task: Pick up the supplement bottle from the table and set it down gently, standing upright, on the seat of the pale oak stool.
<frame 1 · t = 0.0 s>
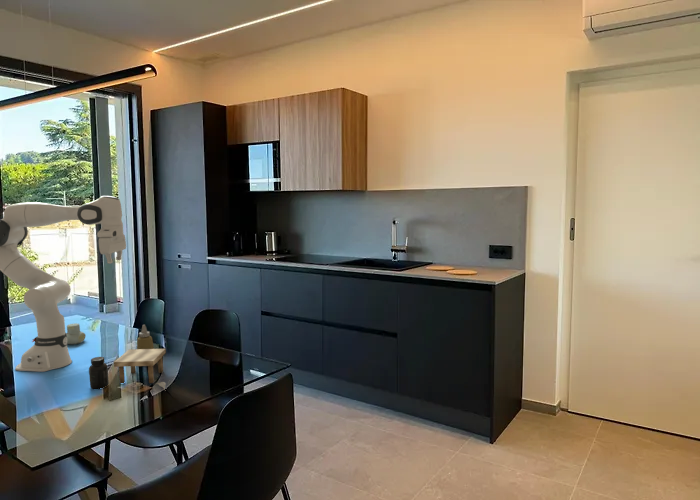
hand: (114, 261, 227), 48 cm above the table, tool pointing down, fingers open, 8 cm apart
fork: (166, 391, 201), on the table
stool: (142, 377, 215), on the table
squeeze bottle: (146, 362, 233), on the table
air freshener: (74, 343, 264), on the table
supplement bottle: (99, 387, 205), on the table
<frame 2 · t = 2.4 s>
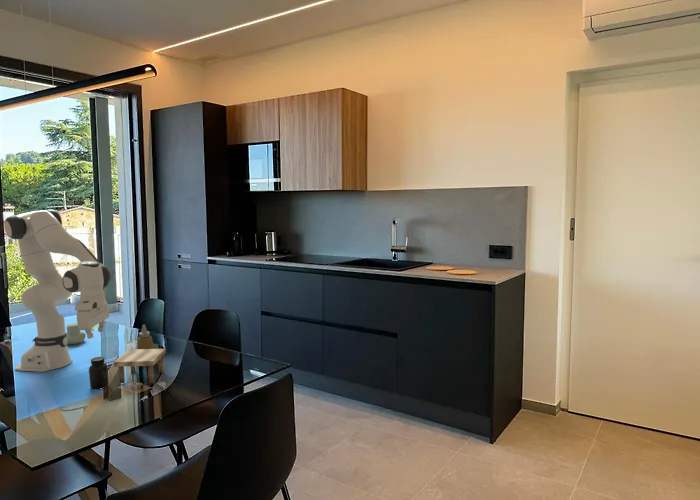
hand: (95, 334, 202), 22 cm above the table, tool pointing down, fingers open, 8 cm apart
nothing on the table moved.
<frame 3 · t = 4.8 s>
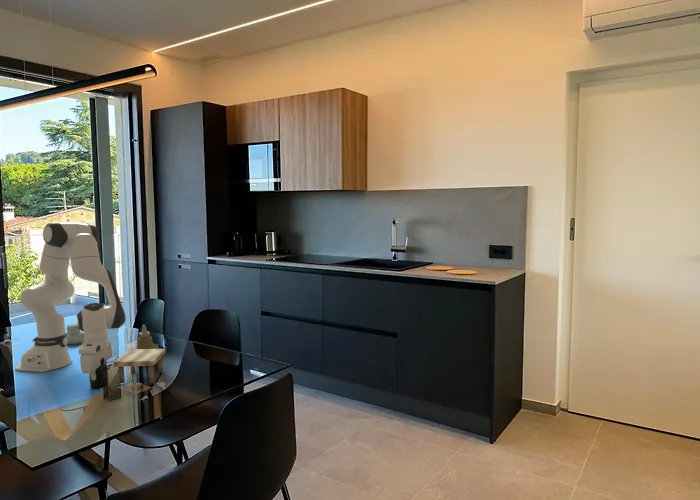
hand: (98, 375, 205), 5 cm above the table, tool pointing down, fingers closed on supplement bottle, 7 cm apart
supplement bottle: (99, 387, 205), on the table, touching gripper
everything else where it was.
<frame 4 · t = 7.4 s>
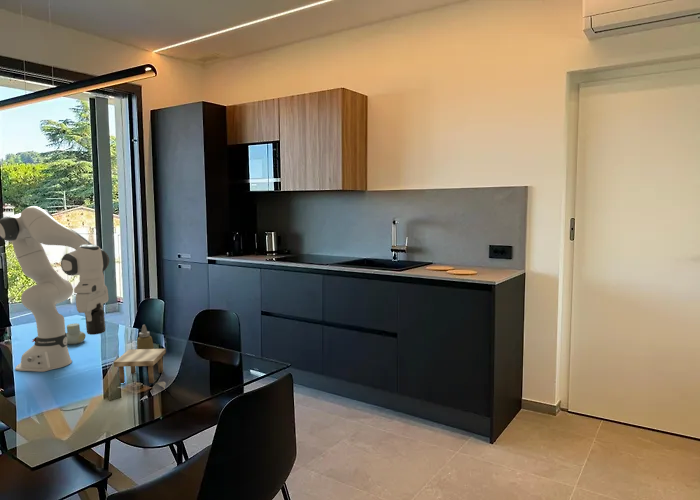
hand: (94, 318, 202), 29 cm above the table, tool pointing down, fingers closed on supplement bottle, 7 cm apart
supplement bottle: (96, 332, 203), point 23 cm above the table, touching gripper
everything else where it was.
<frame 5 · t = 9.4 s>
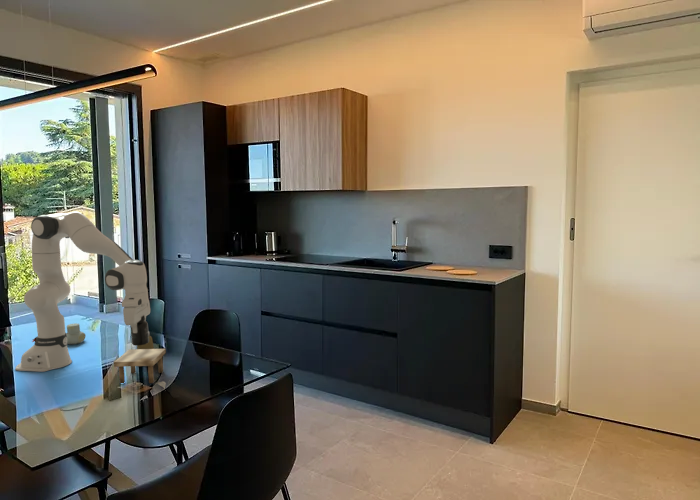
hand: (139, 329, 212), 21 cm above the table, tool pointing down, fingers closed on supplement bottle, 7 cm apart
supplement bottle: (140, 343, 213), point 15 cm above the table, touching gripper
everything else where it was.
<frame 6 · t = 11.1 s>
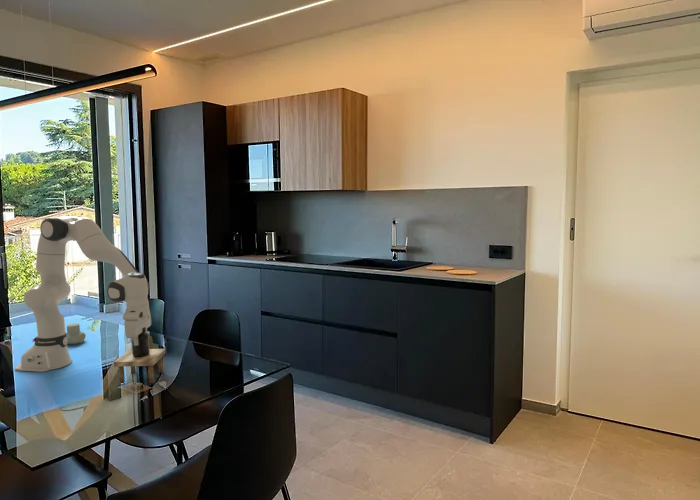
hand: (140, 342, 213), 16 cm above the table, tool pointing down, fingers closed on supplement bottle, 7 cm apart
supplement bottle: (141, 355, 214), point 10 cm above the table, touching gripper, stool
everything else where it was.
when the fingers open (16 cm above the table, at t = 11.3 s): supplement bottle stays where it is, resting on stool.
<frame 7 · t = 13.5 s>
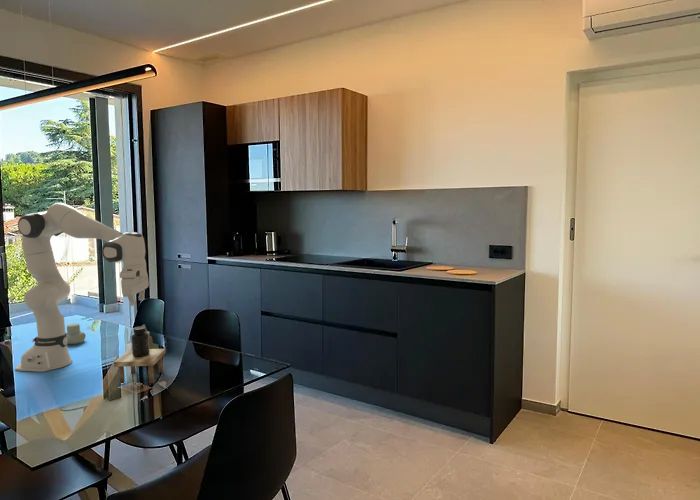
hand: (137, 302, 211), 33 cm above the table, tool pointing down, fingers open, 8 cm apart
supplement bottle: (141, 355, 214), point 10 cm above the table, touching stool
everything else where it was.
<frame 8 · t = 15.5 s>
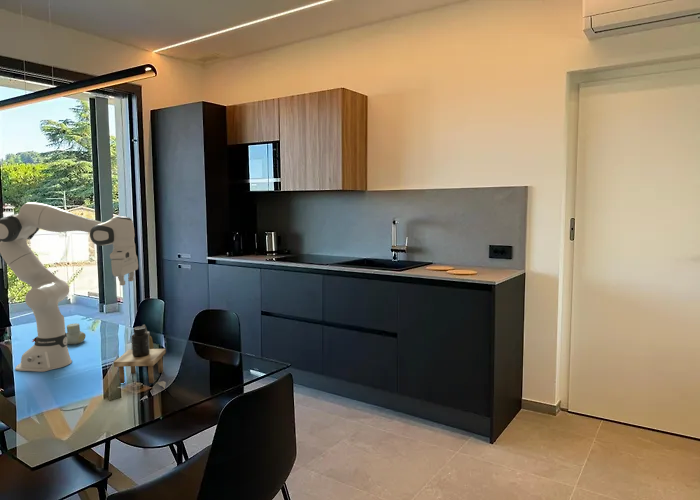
hand: (127, 283, 222), 39 cm above the table, tool pointing down, fingers open, 8 cm apart
nothing on the table moved.
at the end: supplement bottle inside the target area on the stool (0.3 cm from its centre), point 9.8 cm above the stool's base; supplement bottle tilted 0°; the gripper is holding nothing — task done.
